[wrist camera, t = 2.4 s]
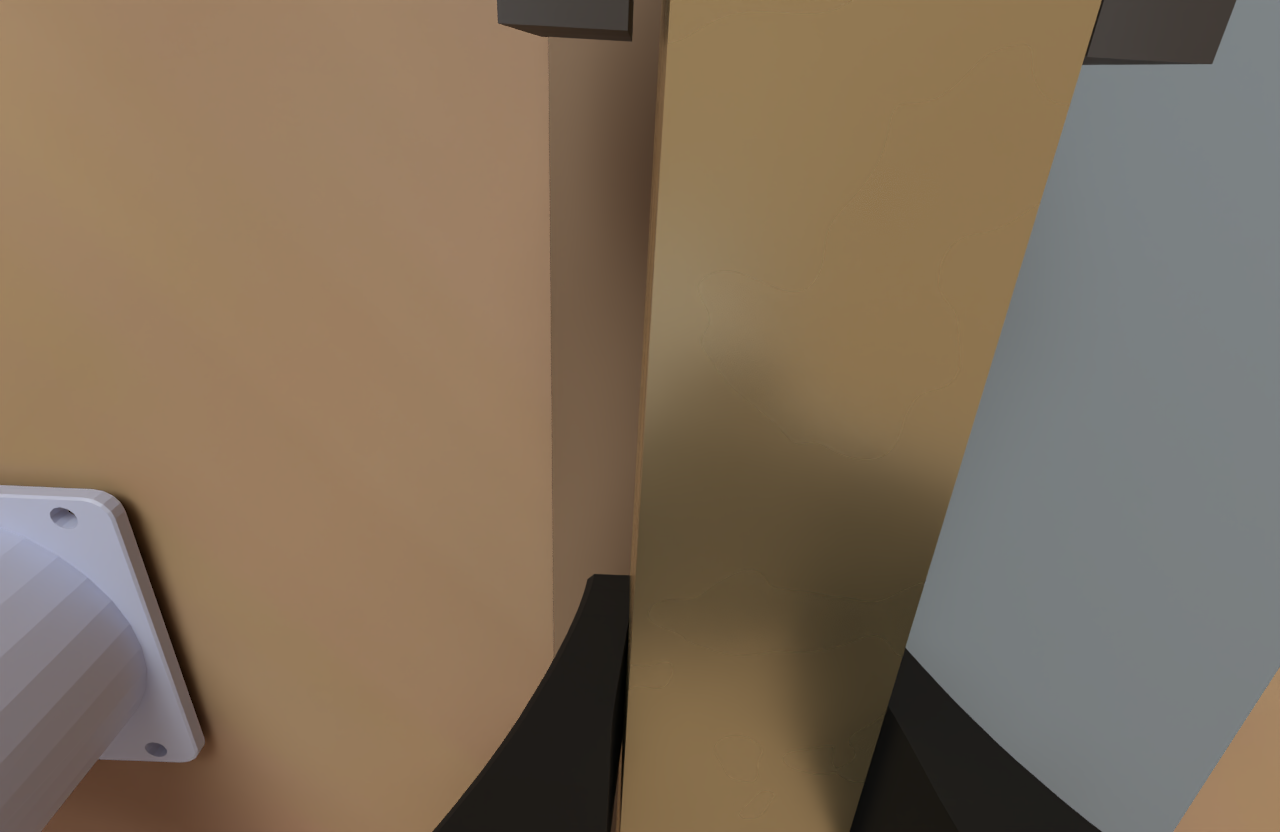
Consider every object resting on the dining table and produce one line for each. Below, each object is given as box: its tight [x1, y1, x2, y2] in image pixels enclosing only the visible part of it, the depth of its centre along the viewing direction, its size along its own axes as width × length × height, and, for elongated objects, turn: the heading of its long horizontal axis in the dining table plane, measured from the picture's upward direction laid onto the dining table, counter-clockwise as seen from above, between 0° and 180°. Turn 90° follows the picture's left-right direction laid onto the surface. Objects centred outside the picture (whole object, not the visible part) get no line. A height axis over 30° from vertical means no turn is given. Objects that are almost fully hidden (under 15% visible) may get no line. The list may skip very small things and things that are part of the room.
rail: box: [616, 0, 1102, 832], centre depth 10 cm, size 3×26×3 cm, turn 177°
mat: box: [905, 0, 1280, 832], centre depth 14 cm, size 9×30×1 cm, turn 177°
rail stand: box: [497, 0, 1236, 832], centre depth 12 cm, size 6×24×6 cm, turn 177°
